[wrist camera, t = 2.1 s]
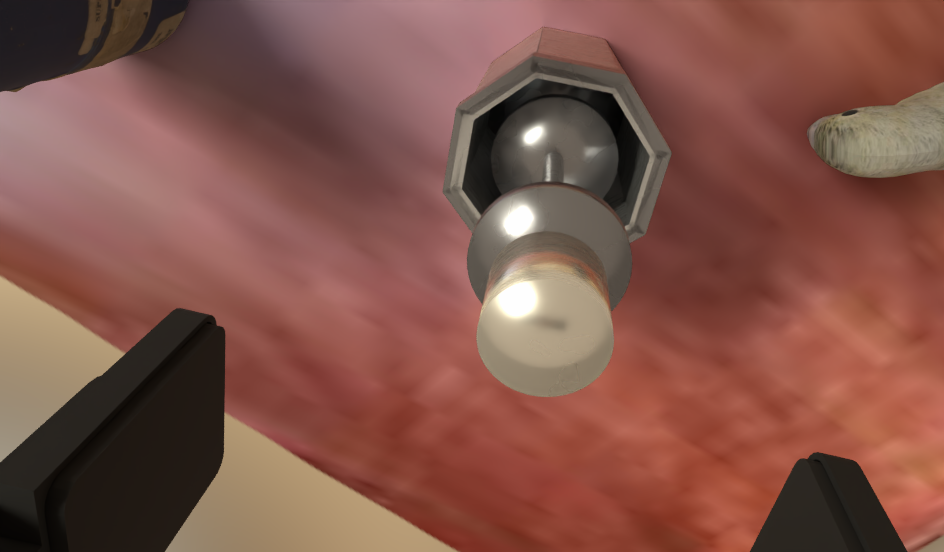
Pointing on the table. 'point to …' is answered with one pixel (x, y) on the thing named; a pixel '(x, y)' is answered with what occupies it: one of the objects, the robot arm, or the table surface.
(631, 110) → the press carafe
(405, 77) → the table surface
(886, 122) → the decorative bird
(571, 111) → the plunger
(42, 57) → the canister
